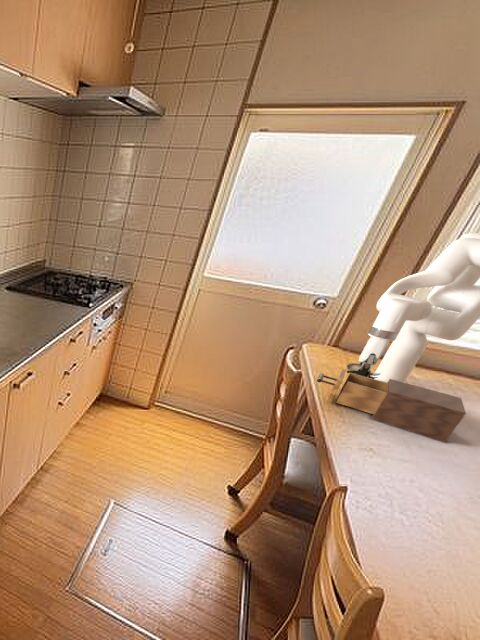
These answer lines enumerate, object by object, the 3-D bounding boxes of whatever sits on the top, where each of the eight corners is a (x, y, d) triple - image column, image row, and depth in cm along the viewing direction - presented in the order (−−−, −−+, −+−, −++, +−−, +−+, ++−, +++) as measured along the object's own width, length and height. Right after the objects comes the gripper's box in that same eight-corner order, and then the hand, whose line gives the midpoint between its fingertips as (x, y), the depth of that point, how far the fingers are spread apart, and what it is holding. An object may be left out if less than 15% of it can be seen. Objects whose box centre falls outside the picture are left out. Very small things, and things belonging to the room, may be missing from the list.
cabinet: (371, 419, 142) (388, 391, 137) (373, 405, 152) (389, 378, 147) (444, 442, 132) (465, 413, 127) (441, 425, 141) (461, 398, 136)
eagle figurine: (358, 385, 164) (340, 368, 166) (377, 374, 161) (358, 356, 162) (366, 389, 157) (347, 371, 159) (386, 376, 154) (366, 359, 156)
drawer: (308, 395, 153) (320, 374, 149) (314, 385, 162) (324, 364, 158) (387, 420, 140) (401, 397, 136) (388, 407, 149) (401, 385, 145)
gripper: (371, 325, 160) (350, 366, 168) (368, 336, 148) (345, 379, 157) (397, 330, 155) (374, 372, 164) (396, 342, 144) (371, 387, 152)
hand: (360, 375), depth 160 cm, fingers closed on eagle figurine, 8 cm apart
